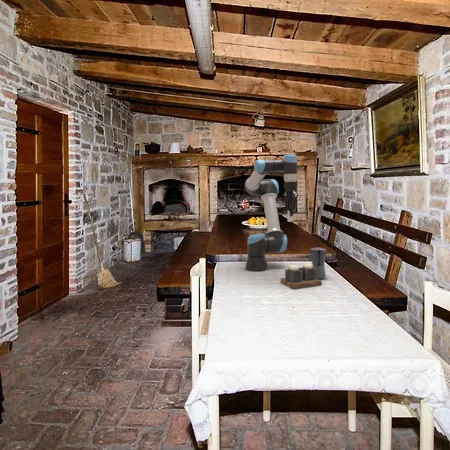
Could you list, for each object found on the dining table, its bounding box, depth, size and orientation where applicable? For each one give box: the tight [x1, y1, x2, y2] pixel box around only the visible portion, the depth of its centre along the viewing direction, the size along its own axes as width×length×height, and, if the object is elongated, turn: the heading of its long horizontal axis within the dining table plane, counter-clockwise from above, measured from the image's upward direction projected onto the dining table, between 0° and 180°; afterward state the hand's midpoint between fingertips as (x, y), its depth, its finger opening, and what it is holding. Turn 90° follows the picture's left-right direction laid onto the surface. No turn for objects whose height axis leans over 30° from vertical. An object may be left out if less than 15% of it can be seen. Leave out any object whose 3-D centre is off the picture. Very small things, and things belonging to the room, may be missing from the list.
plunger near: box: [288, 264, 300, 272], centre depth 190 cm, size 6×6×8 cm
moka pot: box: [309, 244, 327, 280], centre depth 204 cm, size 10×15×20 cm, turn 174°
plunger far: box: [302, 262, 313, 270], centre depth 193 cm, size 6×6×8 cm
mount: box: [280, 266, 323, 290], centre depth 192 cm, size 14×18×8 cm
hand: (290, 221), depth 201 cm, fingers closed
